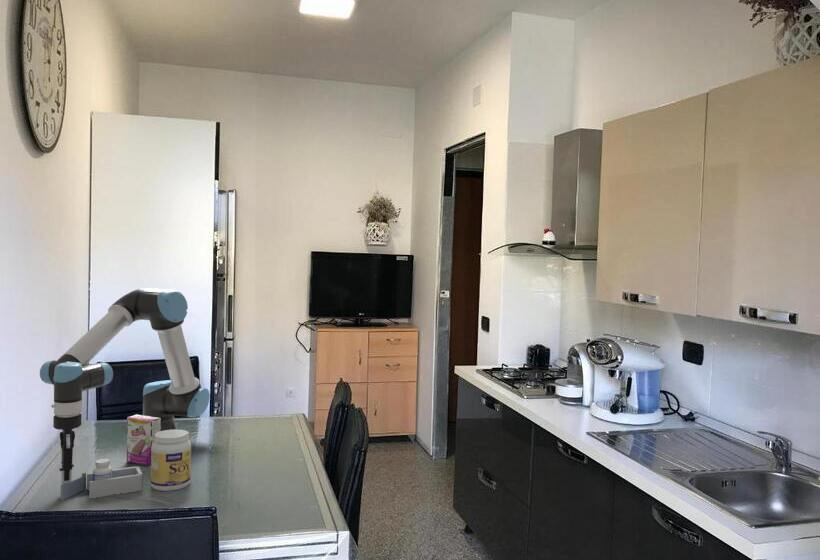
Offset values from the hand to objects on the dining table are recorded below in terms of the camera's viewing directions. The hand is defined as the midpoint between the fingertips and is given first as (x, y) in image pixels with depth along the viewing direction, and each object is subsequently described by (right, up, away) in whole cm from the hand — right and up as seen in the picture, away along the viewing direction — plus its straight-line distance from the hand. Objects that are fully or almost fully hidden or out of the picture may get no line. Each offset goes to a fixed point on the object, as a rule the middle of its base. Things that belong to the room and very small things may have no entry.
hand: (66, 489), depth 191 cm
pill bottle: (+9, -2, +4) cm, 10 cm away
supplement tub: (+28, -2, +10) cm, 30 cm away
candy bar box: (+10, -1, +31) cm, 33 cm away
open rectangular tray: (+12, -2, +5) cm, 14 cm away
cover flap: (+2, -2, +1) cm, 3 cm away
